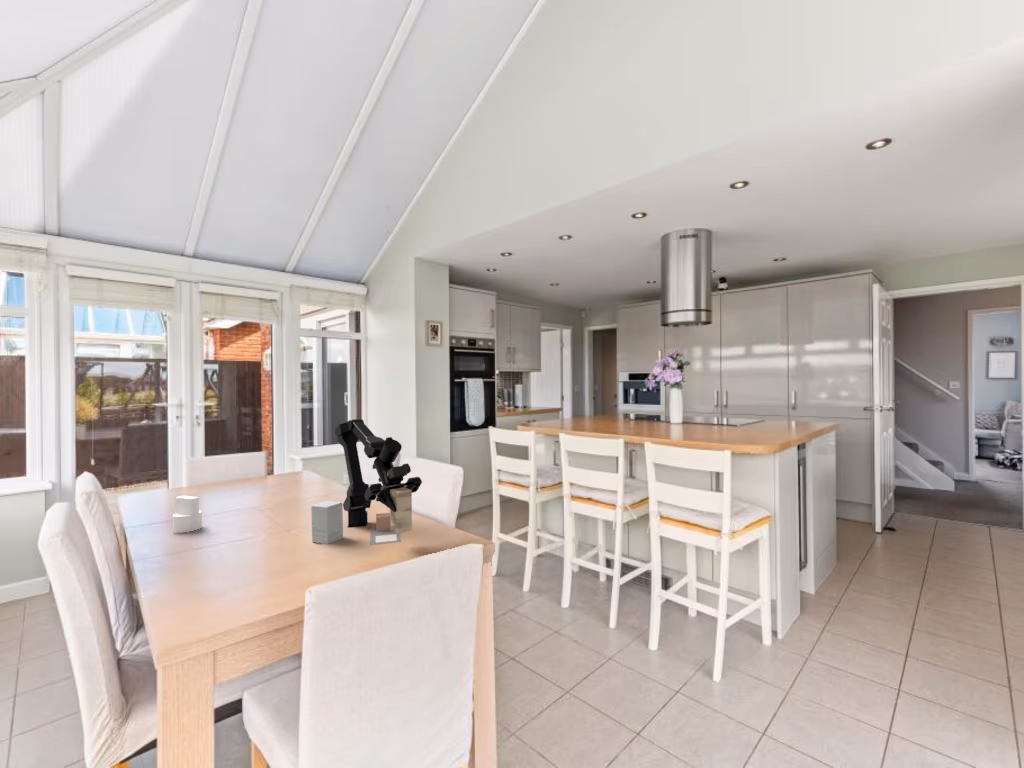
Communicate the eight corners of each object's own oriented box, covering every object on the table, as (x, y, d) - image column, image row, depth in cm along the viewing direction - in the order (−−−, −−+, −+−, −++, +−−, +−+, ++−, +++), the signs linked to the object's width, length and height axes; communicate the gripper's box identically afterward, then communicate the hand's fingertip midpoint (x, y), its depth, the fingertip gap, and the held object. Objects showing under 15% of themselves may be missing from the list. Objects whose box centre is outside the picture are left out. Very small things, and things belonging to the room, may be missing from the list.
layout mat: (369, 546, 157) (369, 544, 157) (370, 528, 177) (370, 526, 177) (400, 542, 160) (400, 541, 160) (398, 525, 179) (398, 524, 179)
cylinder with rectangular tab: (167, 531, 176) (166, 499, 176) (191, 524, 184) (190, 493, 184) (183, 534, 173) (182, 501, 173) (207, 527, 181) (206, 495, 181)
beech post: (390, 529, 156) (390, 489, 156) (404, 526, 159) (403, 487, 159) (398, 533, 152) (397, 492, 152) (411, 529, 155) (411, 489, 155)
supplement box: (343, 538, 165) (343, 502, 165) (327, 545, 159) (326, 507, 159) (328, 535, 169) (327, 500, 168) (311, 542, 162) (310, 505, 162)
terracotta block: (376, 531, 171) (376, 517, 171) (376, 527, 176) (376, 513, 176) (390, 530, 173) (390, 516, 173) (390, 526, 177) (390, 512, 177)
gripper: (367, 459, 152) (384, 500, 144) (418, 453, 165) (437, 490, 156) (357, 480, 158) (373, 521, 150) (407, 472, 170) (424, 509, 162)
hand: (403, 509), depth 155 cm, fingers closed on beech post, 5 cm apart
